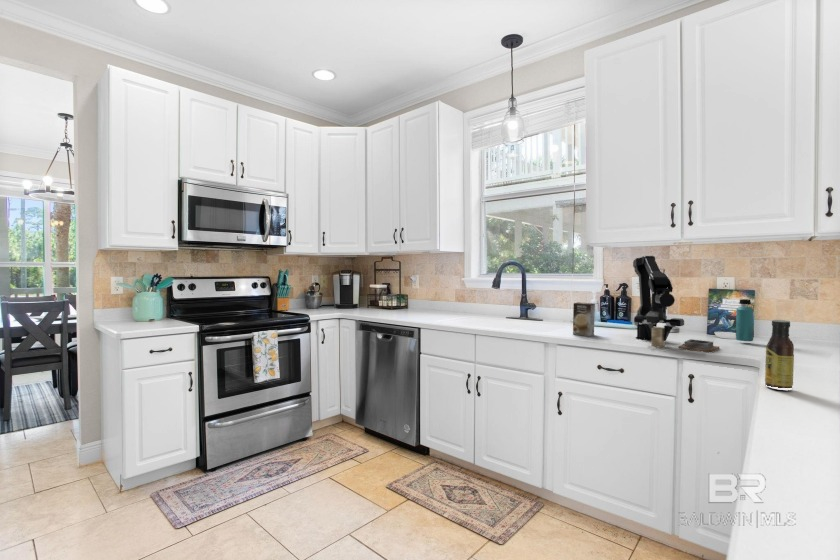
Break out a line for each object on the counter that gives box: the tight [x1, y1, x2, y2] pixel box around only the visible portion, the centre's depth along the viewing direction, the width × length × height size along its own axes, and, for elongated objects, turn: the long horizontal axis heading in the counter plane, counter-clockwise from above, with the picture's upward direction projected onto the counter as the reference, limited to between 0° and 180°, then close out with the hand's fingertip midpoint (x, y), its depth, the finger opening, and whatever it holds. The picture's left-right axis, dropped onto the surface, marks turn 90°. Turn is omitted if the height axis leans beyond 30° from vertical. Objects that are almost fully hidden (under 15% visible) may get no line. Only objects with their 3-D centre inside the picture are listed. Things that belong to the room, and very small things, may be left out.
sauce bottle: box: [764, 319, 795, 389], centre depth 125 cm, size 7×6×20 cm
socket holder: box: [677, 338, 720, 353], centre depth 185 cm, size 12×12×3 cm
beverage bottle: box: [735, 298, 755, 342], centre depth 197 cm, size 6×7×20 cm
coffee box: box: [572, 301, 596, 337], centre depth 222 cm, size 9×6×16 cm
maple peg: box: [650, 326, 666, 348], centre depth 191 cm, size 4×4×8 cm
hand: (658, 340), depth 191 cm, fingers open, 5 cm apart
